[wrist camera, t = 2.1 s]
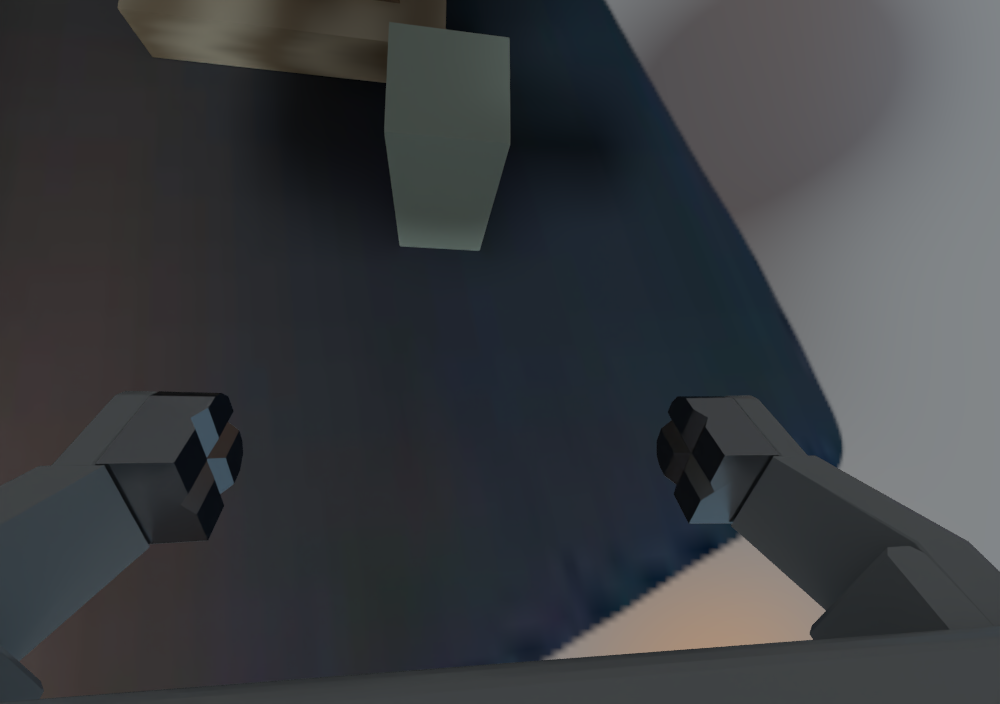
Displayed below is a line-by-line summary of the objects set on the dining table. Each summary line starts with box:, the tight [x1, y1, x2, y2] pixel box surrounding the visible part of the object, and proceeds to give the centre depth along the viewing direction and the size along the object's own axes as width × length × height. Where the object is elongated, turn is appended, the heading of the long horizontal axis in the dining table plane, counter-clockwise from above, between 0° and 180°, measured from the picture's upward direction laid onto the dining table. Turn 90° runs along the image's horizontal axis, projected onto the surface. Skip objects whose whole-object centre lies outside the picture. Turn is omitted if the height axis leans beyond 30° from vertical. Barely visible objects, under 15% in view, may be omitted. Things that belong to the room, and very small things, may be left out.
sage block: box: [384, 22, 510, 251], centre depth 22 cm, size 4×4×10 cm
